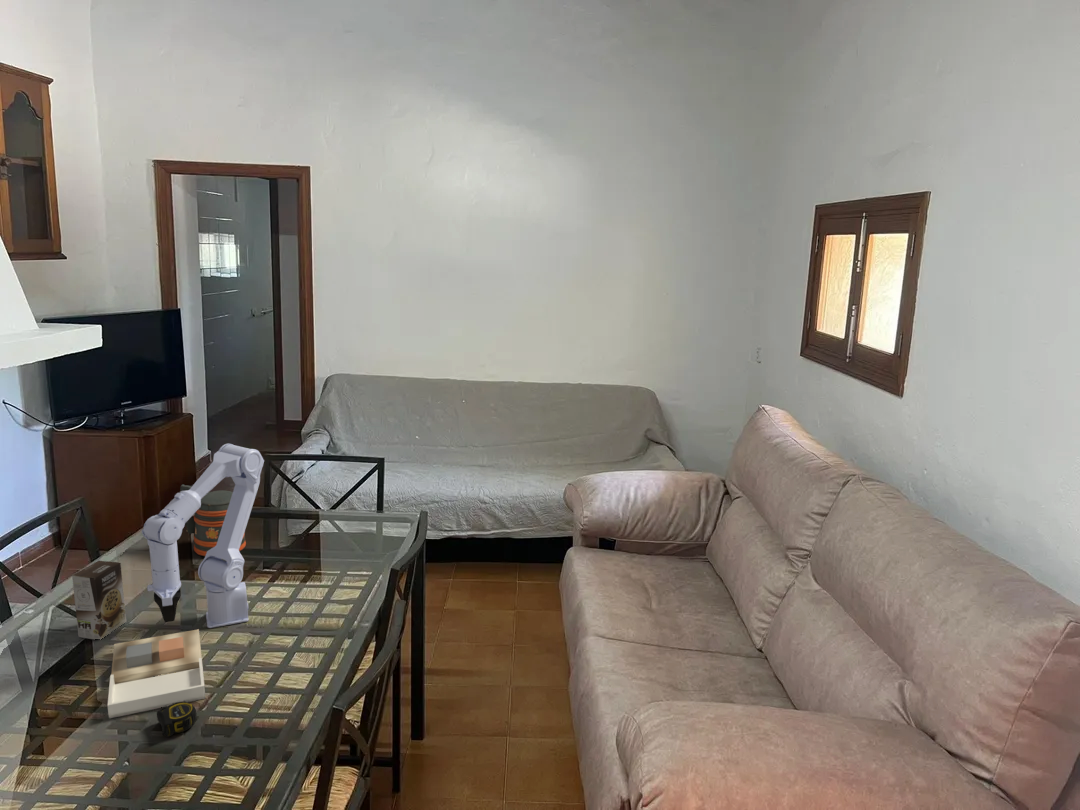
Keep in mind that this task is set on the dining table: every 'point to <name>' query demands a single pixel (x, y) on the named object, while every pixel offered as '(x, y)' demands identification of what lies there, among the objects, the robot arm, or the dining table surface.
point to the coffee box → (99, 599)
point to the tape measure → (177, 717)
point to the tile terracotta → (171, 649)
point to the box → (155, 692)
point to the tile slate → (139, 655)
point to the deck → (156, 658)
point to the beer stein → (209, 520)
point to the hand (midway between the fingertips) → (169, 620)
